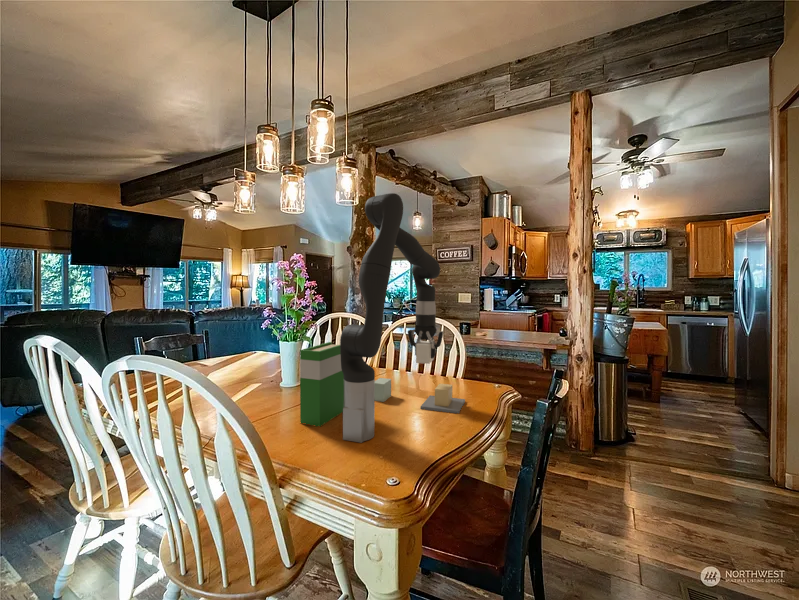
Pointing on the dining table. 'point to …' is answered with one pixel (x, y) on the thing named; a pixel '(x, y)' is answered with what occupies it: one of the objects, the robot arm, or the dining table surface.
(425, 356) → the off white brick
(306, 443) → the dining table surface
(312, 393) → the hardback book
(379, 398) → the sage brick
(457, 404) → the board
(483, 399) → the dining table surface
